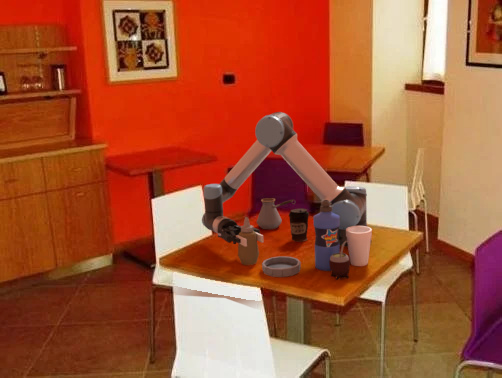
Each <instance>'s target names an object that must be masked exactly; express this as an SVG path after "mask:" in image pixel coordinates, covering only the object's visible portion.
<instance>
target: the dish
mask: <svg viewBox="0 0 502 378" xmlns="http://www.w3.org/2000/svg"><path fill="white" fill-rule="evenodd" d="M301 264H302V262H301V260H299V259H298V258H297V257H296V258H295V257H293V256H285V255H284V256H273V257H270V258H267V259H264V260H263V262H262V263H261V269H262V273H263V274H264V275H267V276H269V277H273V278H286V277H292V276H295V275H297V274H299V273H300V271H301V268H302V265H301Z"/></svg>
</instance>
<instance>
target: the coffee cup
mask: <svg viewBox="0 0 502 378" xmlns="http://www.w3.org/2000/svg"><path fill="white" fill-rule="evenodd" d="M309 216H310V213H309V212H308V209H306V208H295V209H294V208H293V209H291V210H290V211H289V213H288V219H289V224H290V225H289V227H290V234H291V240H292V241H293V242H299V243H300V242H305V241H307V240H308V237H307V234H308V228H309Z"/></svg>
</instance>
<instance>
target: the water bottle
mask: <svg viewBox="0 0 502 378" xmlns="http://www.w3.org/2000/svg"><path fill="white" fill-rule="evenodd" d="M331 204H332V203H331V202H330V201H329V200H324V201H323V202H322V201H321V202H320V207H319V208H320V212H319V213H317V214H314V215H313V217H312V218H313V227H314V233H315V239H314V266H315V268H316V269H317V270H319V271H323V272H331V269H330V265H329V260H330V257H331V256H332V254H334V253H341V249H340V248H341V246H340V243H339V238H338V232H339V225H340V218H339V215H337V214H334V213H333V212H332V206H330V205H331Z"/></svg>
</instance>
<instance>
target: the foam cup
mask: <svg viewBox="0 0 502 378" xmlns="http://www.w3.org/2000/svg"><path fill="white" fill-rule="evenodd" d="M372 232H373V228H371V227H369V226H368V227H366V226H351V227H348V228H346V237H347V240H348V241H347V243H348V247H347V248H348V249H347V250H348V254H349V255H348V257H349V261H350V264H351V265H352V266H356V267H364V266H367V265H368V263H369V258H370V250H371V249H370V248H371V243H372V236H373V233H372ZM370 242H371V243H370Z"/></svg>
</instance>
